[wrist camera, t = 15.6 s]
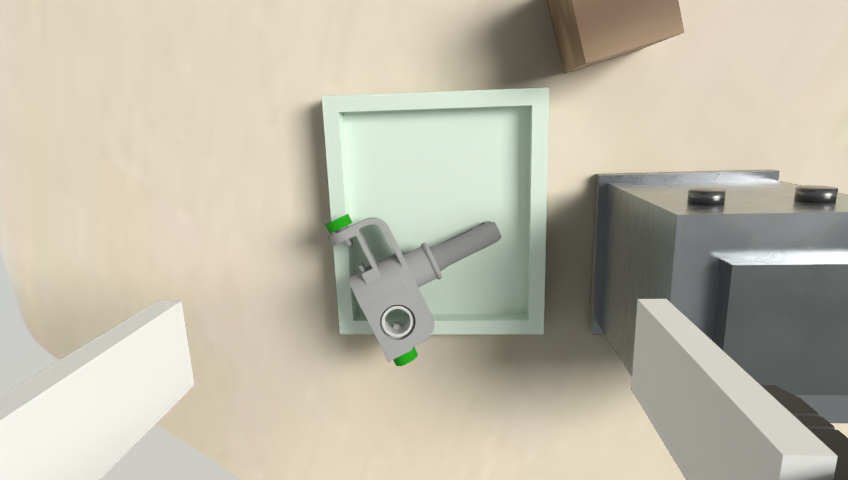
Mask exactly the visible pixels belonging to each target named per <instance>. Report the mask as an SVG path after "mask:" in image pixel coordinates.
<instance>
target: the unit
mask: <svg viewBox="0 0 848 480" xmlns="http://www.w3.org/2000/svg"><path fill="white" fill-rule="evenodd" d="M778 178H779V171H777V170H738V171H698V172H657V173H616V174H596V195H595V218H594V240H593V263H592V285H591V308H590V331H591V333H592V334H605V336H606V337H607V339H608V340H609V342H610V344H611V345H612V347H613V348H614V350H615V351H616V353H617V354H618V356H619V357H620V359H621V361H622V362H623V364H624V365H625V367H626V368H627V370H628V371H629V373H630V374H631V376H632V371H633V357H634V343H635V328H636V314H637V300H638V299H667V300H668V301H669V302H670V303H671V304H673V305H674V306H675V307H676V308H677V309H678V310H679V311H680V312H681V313H682V314H683V315H685V316H686V317H687V318H688V319H689V320H690V321H691V322H692V323H693V324H694V325H695V326H697V327H698V328H699V329H700V330H701V331H702V332H703V333H704V334H705V335H706V336H707V337H709V338H710V339H711V340H712V341H713V342H714V343H715V344H716V345H717V346H718V347H719V348H721V349H722V350H723V351H724V352H725V353H726V354H727V355H728V356H729V357H730V358H731V359H732V360H734V361H735V362H736V363H737V364H738V365H739V366H740V367H741V368H742V369H743V370H744V371H746V372H747V373H748V374H749V375H750V376H751V377H752V378H753V379H754V380H755V381H756V382H758V383H759V384H760V385H776V386H778V387H780V388H782V389H784V390H785V391H787V392H789V393H791V394H793V395H795V396H797V397H799V398H801V399H802V400H803V401H804V402H806V403H807V404H808V405H809V406H810V407H812V408H813V409H814V410H815V411H816V412H817V413H819V417H823V418H825V419H826V420H827V421H828V422H829V423H848V195H847V194H842V193H837V192H838V188H835V187H827V186H802V185H797V184H792V183H787V182H782V181H778Z"/></svg>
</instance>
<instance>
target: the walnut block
mask: <svg viewBox="0 0 848 480" xmlns="http://www.w3.org/2000/svg"><path fill="white" fill-rule="evenodd" d="M547 2H548V6H549V11H550V15H551V19H552V23H553V28H554V32H555V36H556V40H557V44H558V49H559V53H560V57H561V61H562V65H563V70H564V73H567V72H570V71H573V70H576V69H579V68H583V67H586V66H589V65H592V64H595V63H598V62H602V61H605V60H608V59H611V58H614V57H617V56H621V55H624V54H627V53H630V52H633V51H636V50H639V49H643V48H645V47H648V46H651V45H653V44H656V43H658V42H661V41H663V40H666V39H669V38H671V37H674V36H676V35H679V34H681V33H684V29H683V23H682V18H681V13H680V7H679V2H678V0H547Z"/></svg>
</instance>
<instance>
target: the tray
mask: <svg viewBox="0 0 848 480" xmlns="http://www.w3.org/2000/svg"><path fill="white" fill-rule="evenodd" d="M322 107H323V121H324V134H325V147H326V160H327V173H328V186H329V199H330V212H331V222H332V221H334V220H336V219H338V218H340V217H342V216H344V215H346V214H348V215H349V217H350V219H351V221H352V223H351V224H349V225H348V227H350V226H352V225H354V224H356V223H358V222H360V221H362V220H364V219H367V218H379V219H381V220H383V221H384V222H385V223H386V224H387V225H388V227H389V228H390V230H391V232H392V234H393V236H394V238H395V240H396V242H397V244H398V246H399V249H400V251H401V253H402V255H404V254H406V253H408V252H410V251H412V250H414V249H416V248H419V247H421V244H422V243H426V244H427V245H428V247H432V246H435V245H438V244H440V243H442V242H444V241H447V240H449V239H451V238H453V237H455V236H457V235H459V234H461V233H463V232H465V231H467V230H469V229H471V228H473V227H475V226H478V225H480V224H481V223H483V222H485V221H491V222H495V224H496V225H497V227H498V229H499V232H500V234H501V237H502V238H501V239H500V240H499V241H498V242H496V243H494V244H492V245H490V246H488V247H486V248H484V249H482V250H480V251H478V252H476V253H474V254H472V255H470V256H468V257H465V258H463V259H461V260H460V261H458V262H456V263H454V264H452V265H450V266H448V267H446V268H445V269H444V270H442V271H441V274H442V278H441V279H435V280H433V281H431V282H429V283H427V284H425V285H423V286H421V287H419V290H420V292H421V294H422V296H423V298H424V300H425V302H426V304H427V306H428V308H429V310H430V312H431V314H432V316H433V319H434V330H433V333H432V334H544V304H545V259H546V215H547V171H548V126H549V88H523V89H497V90H471V91H445V92H419V93H393V94H367V95H341V96H322ZM360 230H361V232H362V234H363V236H364V238H365V240H366V242H367V244H368V246H369V248H370V250H371V252H372V254H373V256H374V258H375V260H376V262H378V261H381V260H383V259H385V258H387V257H389V256H391V255H393V254H395V252H394V250H393V248H392V246H391V243H390V241H389V239H388V237H387V235H386V233H385V231H384V230H383V228H382V227H380V226H379V225H376V224H370V225H367V226H364V227H362V228H361V229H360ZM335 233H336V232H335V231H334V232H332V235H333V234H335ZM351 240H352V242H353V245H351V246H348V244H347V242H346V240H345V241H343V242H341V243H339V244H336V245H334V246H333V251H334V264H335V277H336V290H337V304H338V317H339V330H340V334H374V332H373V330H372V328H371V326H370V324H369V322H368V320H367V318H366V316H365V314H364V312H363V310H362V308H361V307H360V305H359V303H358V301H357V299H356V297H355V295H354V292H353V290H352V288H351V285H350V282H349V277H350V276H352V275H354V274H356V273H358V272H360V271H361V270H360V268H359V264H360V263H363V264H364V266H365V267H367V266H369V265H370V262H369V260H368V258H367V256H366V254H365V252H364V250H363V248H362V246H361V244H360V242H359V240H358V238H357V236H354V237H351ZM408 315H409V314H408V313H407V312H406V311H404V310H402V309H393V310H391V311H390V312H389V313H388V314H387V315H386V317H385V320H386V322H387V323H388V324H389V325H391V326H393V323H395V322H399V323H400V325H403V324H404V323H405V322H406V321H407V319H408Z"/></svg>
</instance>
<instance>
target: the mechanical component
mask: <svg viewBox="0 0 848 480" xmlns="http://www.w3.org/2000/svg"><path fill="white" fill-rule="evenodd" d="M351 223H352V221H351V219H350V217H349V215H348V214H346V215H344V216H342V217H340V218H338V219H336V220H334V221H332V222H330V223H328V224H326V226H327V228H328V230H329V232H330V233H332V232H334V231H335V232H336V233H335V234H333V235H331V236H330V237H328V238H329V240H330V242H331V244H332V246H334V245H336V244H339V243H341V242H343V241H345V240H346V242H347V244H348V246H351V245H353V242H352V240H351V237H354V236H357V238H358V240H359V242H360V244H361V246H362V248H363V250H364V252H365V254H366V256H367V258H368V260H369V262H370V265H369V266H367V267H365V266H364V264H363V263H360V264H359V268H360V270H361V271H360V272H358V273H356V274H354V275H352V276H350V277H349V282H350V285H351V288H352V290H353V292H354V295H355V297H356V299H357V301H358V303H359V305H360V307H361V308H362V310H363V312H364V314H365V316H366V318H367V320H368V322H369V324H370V326H371V328H372V330H373V332H374V334H375V336H376V338H377V340H378V342H379V344H380V346H381V348H382V350H383V352H384V354H385V356H386V358H387V360H388V362H389V361H391V360H394V362H395V364H396V366H402V365H405V364H407V363H409V362H411V361H412V360H414V359H415V358H416V357H417V355H418V354H417V352H416V350H415V348H414V346H416V345H418V344H420V343H422V342H424V341H426V340H427V339H428V338H429V337H430V336H431V335H432V333H433V330H434V319H433V316H432V314H431V312H430V310H429V308H428V306H427V304H426V302H425V300H424V298H423V296H422V294H421V292H420V290H419V287H421V286H423V285H425V284H427V283H429V282H431V281H433V280H435V279H441V278H442V274H441V271H442V270H444V269H445V268H446V267H448V266H450V265H452V264H454V263H456V262H458V261H460V260H461V259H463V258H465V257H468V256H470V255H472V254H474V253H476V252H478V251H480V250H482V249H484V248H486V247H488V246H490V245H492V244H494V243H496V242H498V241H499V240H500V239H501V238H502V237H501V234H500V232H499V229H498V227H497V225H496V224H495V222H491V221H485V222H483V223H481V224H480V225H478V226H475V227H473V228H471V229H469V230H467V231H465V232H463V233H461V234H459V235H457V236H455V237H453V238H451V239H449V240H447V241H444V242H442V243H440V244H438V245H435V246H432V247H428V245H427V244H426V243H422V244H421V247H419V248H416V249H414V250H412V251H410V252H408V253H406V254H404V255H402V253H401V251H400V249H399V246H398V244H397V242H396V240H395V238H394V236H393V234H392V232H391V230H390V228H389V227H388V225H387V224H386V223H385V222H384V221H383V220H381V219H379V218H367V219H364V220H362V221H360V222H358V223H356V224H354V225H352V226H350V227H348V225H349V224H351ZM370 224H376V225H379V226H380V227H382V228H383V230H384V231H385V233H386V235H387V237H388V239H389V241H390V243H391V246H392V248H393V250H394V252H395V254H393V255H391V256H389V257H387V258H385V259H383V260H381V261H378V262H376V260H375V258H374V256H373V254H372V252H371V250H370V248H369V246H368V244H367V242H366V240H365V238H364V236H363V234H362V232H361V230H360V229H361V228H362V227H364V226H367V225H370ZM393 309H402V310H404V311H406V312H407V313H408V314H409V315H408V319H407V321H406V322H405V323H404V324H403V325H400V323H399V322H395V323H393V326H391V325H389V324H388V323H387V322H386V320H385V317H386V315H387V314H388V313H389V312H390V311H391V310H393Z"/></svg>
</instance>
